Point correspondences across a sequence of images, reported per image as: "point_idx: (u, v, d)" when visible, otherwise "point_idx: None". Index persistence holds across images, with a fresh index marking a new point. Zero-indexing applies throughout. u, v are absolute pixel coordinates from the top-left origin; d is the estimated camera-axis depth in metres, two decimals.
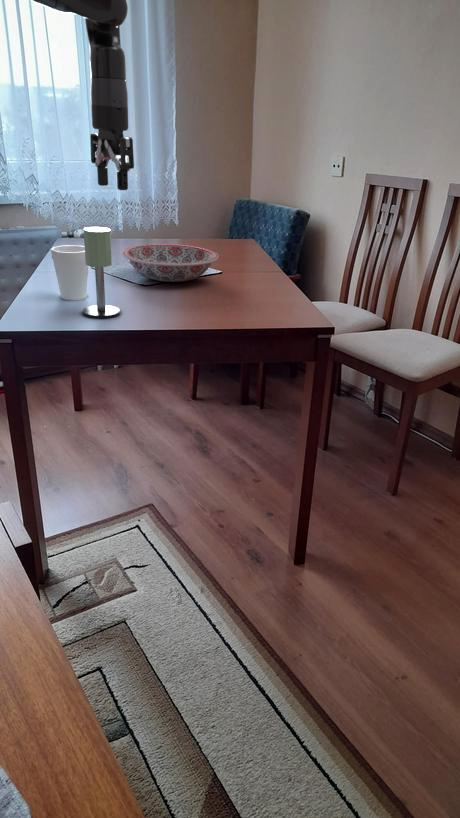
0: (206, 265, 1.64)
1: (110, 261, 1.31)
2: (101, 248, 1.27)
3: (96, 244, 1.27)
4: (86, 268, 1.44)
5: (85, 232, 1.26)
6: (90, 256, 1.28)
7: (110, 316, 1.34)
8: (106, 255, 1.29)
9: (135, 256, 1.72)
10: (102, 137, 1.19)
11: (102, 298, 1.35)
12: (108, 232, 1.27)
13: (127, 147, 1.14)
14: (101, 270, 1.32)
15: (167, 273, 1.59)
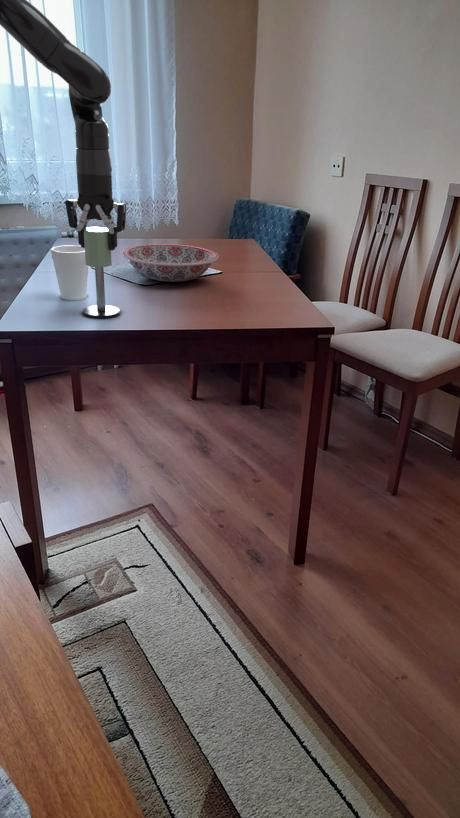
0: (206, 265, 1.64)
1: (110, 261, 1.31)
2: (101, 248, 1.27)
3: (96, 244, 1.27)
4: (86, 268, 1.44)
5: (85, 232, 1.26)
6: (90, 256, 1.28)
7: (110, 316, 1.34)
8: (106, 255, 1.29)
9: (135, 256, 1.72)
10: (86, 201, 1.24)
11: (102, 298, 1.35)
12: (108, 232, 1.27)
13: (123, 213, 1.25)
14: (101, 270, 1.32)
15: (167, 273, 1.59)
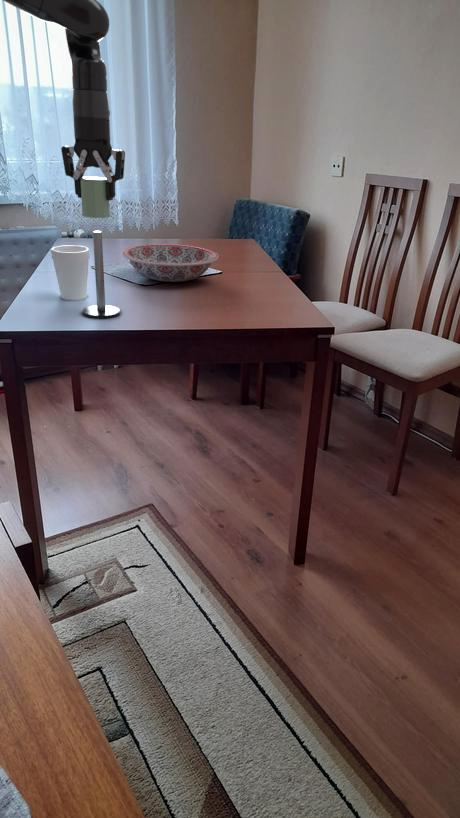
0: (206, 265, 1.64)
1: (108, 212, 1.26)
2: (98, 197, 1.22)
3: (94, 193, 1.22)
4: (86, 268, 1.44)
5: (82, 180, 1.21)
6: (87, 206, 1.23)
7: (110, 316, 1.34)
8: (104, 205, 1.24)
9: (135, 256, 1.72)
10: (83, 147, 1.20)
11: (102, 298, 1.35)
12: (106, 181, 1.22)
13: (122, 160, 1.20)
14: (101, 270, 1.32)
15: (167, 273, 1.59)
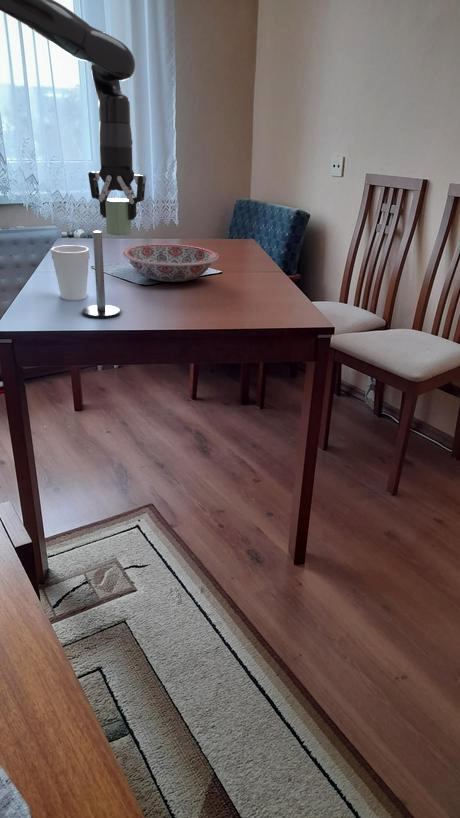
0: (206, 265, 1.64)
1: (130, 230, 1.39)
2: (122, 217, 1.35)
3: (117, 214, 1.35)
4: (86, 268, 1.44)
5: (107, 202, 1.34)
6: (111, 225, 1.36)
7: (110, 316, 1.34)
8: (126, 224, 1.37)
9: (135, 256, 1.72)
10: (108, 173, 1.33)
11: (102, 298, 1.35)
12: (128, 202, 1.35)
13: (143, 184, 1.33)
14: (101, 270, 1.32)
15: (167, 273, 1.59)
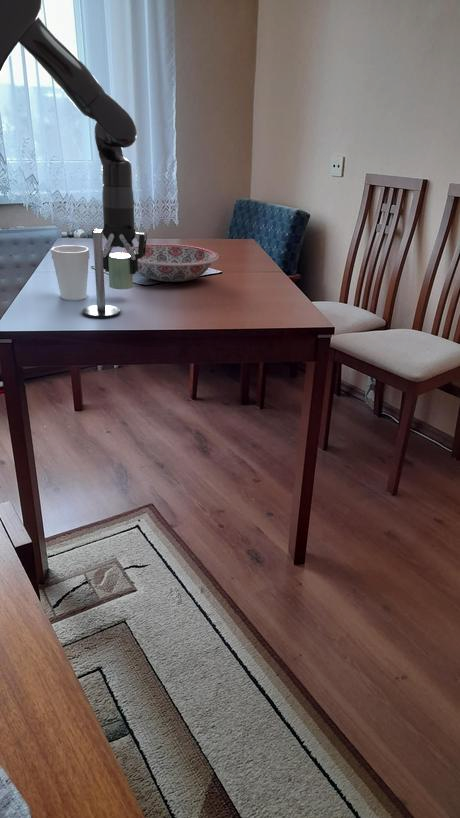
0: (206, 265, 1.64)
1: (131, 284, 1.45)
2: (124, 272, 1.42)
3: (120, 269, 1.41)
4: (86, 268, 1.44)
5: (109, 258, 1.41)
6: (114, 279, 1.42)
7: (110, 316, 1.34)
8: (128, 278, 1.43)
9: None
10: (111, 231, 1.39)
11: (102, 298, 1.35)
12: (130, 258, 1.42)
13: (144, 241, 1.40)
14: (101, 270, 1.32)
15: (167, 273, 1.59)
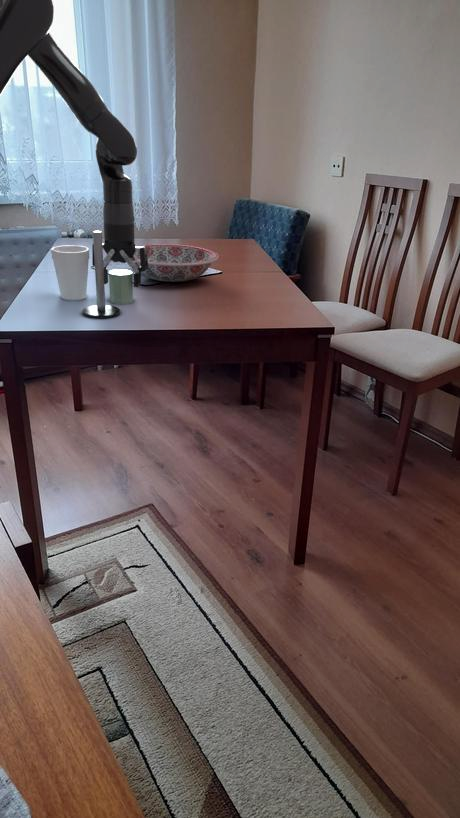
0: (206, 265, 1.64)
1: (132, 299, 1.47)
2: (124, 289, 1.44)
3: (120, 286, 1.43)
4: (86, 268, 1.44)
5: (110, 275, 1.43)
6: (114, 296, 1.44)
7: (110, 316, 1.34)
8: (128, 295, 1.45)
9: (135, 256, 1.72)
10: (112, 246, 1.40)
11: (102, 298, 1.35)
12: (130, 275, 1.44)
13: (145, 254, 1.41)
14: (101, 270, 1.32)
15: (167, 273, 1.59)
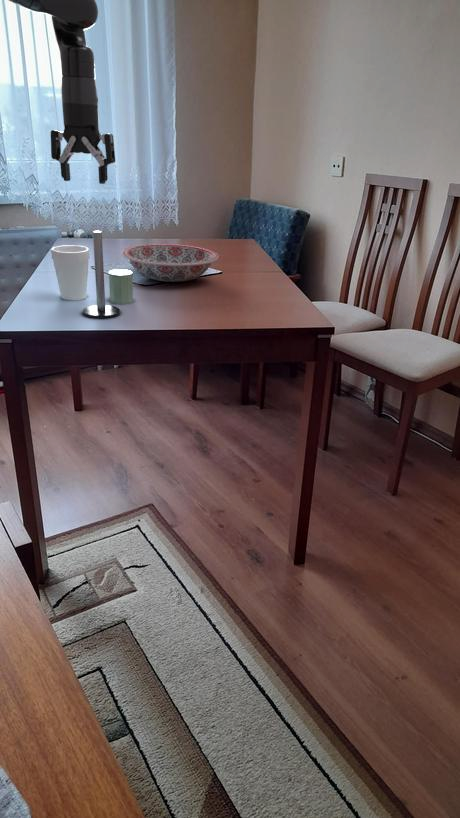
0: (206, 265, 1.64)
1: (132, 299, 1.47)
2: (124, 289, 1.44)
3: (120, 286, 1.43)
4: (86, 268, 1.44)
5: (110, 275, 1.43)
6: (114, 296, 1.44)
7: (110, 316, 1.34)
8: (128, 295, 1.45)
9: (135, 256, 1.72)
10: (72, 133, 1.22)
11: (102, 298, 1.35)
12: (130, 275, 1.44)
13: (111, 143, 1.23)
14: (101, 270, 1.32)
15: (167, 273, 1.59)
